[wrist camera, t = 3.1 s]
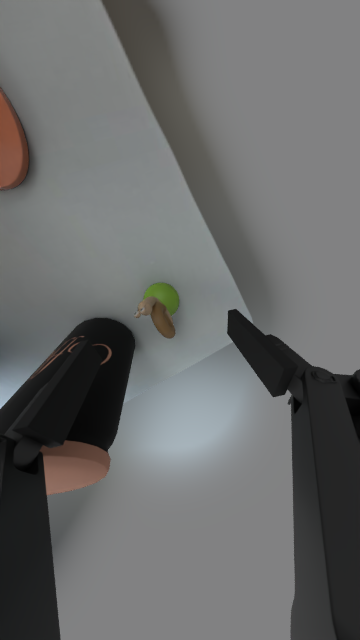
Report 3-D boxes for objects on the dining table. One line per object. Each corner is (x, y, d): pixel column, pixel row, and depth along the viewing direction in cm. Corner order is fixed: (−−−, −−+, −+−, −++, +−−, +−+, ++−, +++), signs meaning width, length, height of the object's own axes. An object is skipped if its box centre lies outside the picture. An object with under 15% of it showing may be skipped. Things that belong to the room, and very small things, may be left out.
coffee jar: (128, 311, 24) (76, 444, 8) (141, 354, 29) (122, 479, 14) (64, 318, 23) (-127, 482, 7) (89, 361, 28) (10, 504, 13)
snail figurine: (162, 266, 20) (165, 294, 10) (182, 298, 24) (200, 344, 14) (133, 285, 21) (112, 328, 11) (157, 314, 25) (157, 367, 15)
